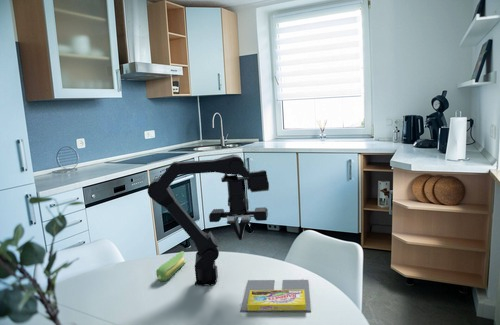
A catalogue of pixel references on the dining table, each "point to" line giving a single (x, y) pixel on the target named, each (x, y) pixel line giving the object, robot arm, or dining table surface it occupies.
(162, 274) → the edible corn
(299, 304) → the candy box
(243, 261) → the dining table surface
